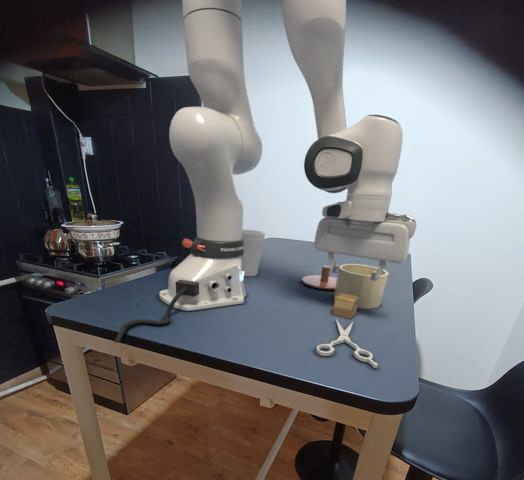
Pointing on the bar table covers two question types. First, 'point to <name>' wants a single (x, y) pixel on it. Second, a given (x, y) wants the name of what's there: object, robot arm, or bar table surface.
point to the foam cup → (252, 251)
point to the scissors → (346, 339)
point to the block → (345, 305)
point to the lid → (321, 279)
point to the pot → (361, 284)
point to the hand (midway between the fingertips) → (353, 276)
